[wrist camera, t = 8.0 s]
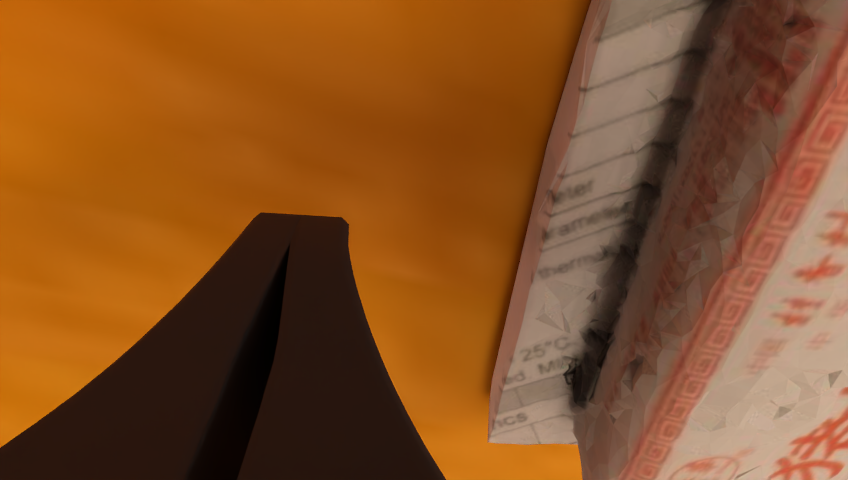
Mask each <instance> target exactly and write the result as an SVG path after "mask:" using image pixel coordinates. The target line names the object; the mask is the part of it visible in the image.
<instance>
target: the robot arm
mask: <svg viewBox="0 0 848 480" xmlns="http://www.w3.org/2000/svg"><path fill="white" fill-rule="evenodd" d="M348 236H349V224H348V223H347V222H346V221H345V220H344V219H343V218H342V217H326V216H310V215H293V214H277V213H260V214H258V215H257V216H256V217H255V218H253V220H252V221H251V222H250V223H249V225H248V226H247V227H246V228H245V229H244V231H243V232H242V233H241V234H240V236H239V237H238V238H237V239H236V240H235V242H234V243H233V244H232V245H231V246H230V247H229V249H228V250H227V251H226V252H225V253H224V254H223V255H222V257H221V258H220V259H219V260H218V261H217V262H216V263H215V264H214V266H213V267H212V268H211V269H210V270H209V271H208V272H207V273H206V274H205V275H204V276H203V277H202V278H201V280H200V281H199V282H198V283H197V284H196V285H195V286H194V287H193V288H192V289H191V290H190V291H189V292H188V293H187V294H186V295H185V297H184V298H183V299H182V300H181V301H180V302H179V303H178V304H177V305H176V306H175V307H174V308H173V309H172V310H170V311H169V312H168V313H167V314H166V315H165V316H164V317H163V318H162V319H161V320H160V321H159V322H158V323H157V324H156V325H155V326H154V327H153V328H151V329H150V330H149V331H148V332H147V333H146V334H145V335H144V336H143V337H142V338H141V339H140V340H139V341H138V342H137V343H136V344H134V345H133V346H132V347H131V348H130V349H129V350H128V351H127V352H125V353H124V354H123V355H122V356H121V357H120V358H118V359H117V360H116V361H115V362H114V363H113V364H111V365H110V366H109V367H108V368H107V369H105V370H104V371H103V372H102V373H101V374H99V375H98V376H97V377H96V378H94V379H93V380H92V381H91V382H89V383H88V384H87V385H86V386H84V387H83V388H82V389H81V390H79V391H78V392H77V393H76V394H74V395H73V396H72V397H70V398H69V399H68V400H67V401H65V402H64V403H62V404H61V405H60V406H58V407H57V408H56V409H54V410H53V411H52V412H50V413H49V414H47V415H46V416H45V417H43V418H42V419H41V420H39V421H38V422H37V423H35V424H34V425H32V426H31V427H29V428H28V429H27V430H25V431H24V432H22V433H21V434H19V435H18V436H17V437H15V438H14V439H12V440H11V441H9V442H8V443H7V444H5V445H4V446H2V447H1V448H0V480H446V479H445V477H444V476H443V474H442V472H441V471H440V469H439V468H438V466H437V464H436V463H435V461H434V460H433V458H432V456H431V455H430V453H429V452H428V450H427V448H426V447H425V445H424V443H423V441H422V439H421V438H420V436H419V434H418V432H417V430H416V428H415V426H414V425H413V423H412V421H411V419H410V417H409V415H408V414H407V412H406V410H405V408H404V406H403V404H402V402H401V400H400V398H399V396H398V394H397V392H396V390H395V387H394V385H393V383H392V381H391V379H390V377H389V375H388V372H387V370H386V368H385V365H384V363H383V361H382V358H381V356H380V353H379V351H378V348H377V346H376V343H375V341H374V338H373V336H372V333H371V330H370V328H369V325H368V322H367V319H366V316H365V313H364V310H363V307H362V303H361V300H360V297H359V294H358V290H357V287H356V283H355V279H354V275H353V270H352V265H351V261H350V255H349V248H348Z"/></svg>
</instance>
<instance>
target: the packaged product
mask: <svg viewBox="0 0 848 480" xmlns="http://www.w3.org/2000/svg"><path fill="white" fill-rule="evenodd" d="M488 442H492V443H507V444H525V445H531V444H551V443H558V444H578V447H579V453H580V459H581V466H582V477H583V480H847V479H848V0H591V3H590V6H589V9H588V12H587V15H586V19H585V22H584V25H583V28H582V31H581V35H580V38H579V41H578V45H577V48H576V51H575V55H574V58H573V61H572V64H571V68H570V71H569V74H568V78H567V81H566V84H565V88H564V91H563V94H562V97H561V101H560V104H559V107H558V111H557V114H556V117H555V121H554V124H553V127H552V130H551V134H550V137H549V140H548V144H547V148H546V152H545V157H544V161H543V165H542V169H541V174H540V178H539V182H538V186H537V191H536V195H535V199H534V203H533V207H532V212H531V216H530V220H529V224H528V229H527V233H526V237H525V241H524V246H523V250H522V254H521V259H520V263H519V267H518V271H517V276H516V280H515V284H514V288H513V293H512V297H511V301H510V305H509V310H508V314H507V318H506V323H505V327H504V331H503V335H502V340H501V344H500V348H499V352H498V357H497V361H496V365H495V370H494V374H493V378H492V384H491V392H490V400H489V423H488Z"/></svg>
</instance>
